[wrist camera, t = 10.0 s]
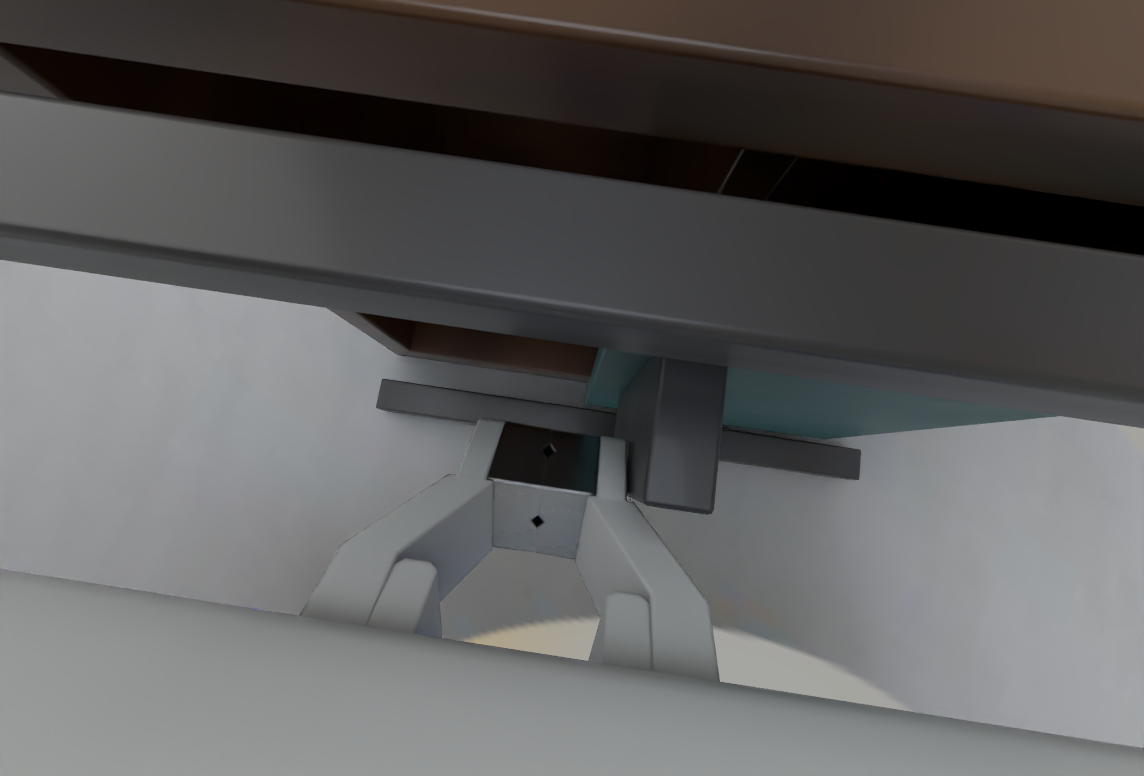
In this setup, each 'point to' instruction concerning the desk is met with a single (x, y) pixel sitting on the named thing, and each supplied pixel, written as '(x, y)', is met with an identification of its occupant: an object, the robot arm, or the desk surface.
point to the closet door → (742, 417)
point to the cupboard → (615, 185)
